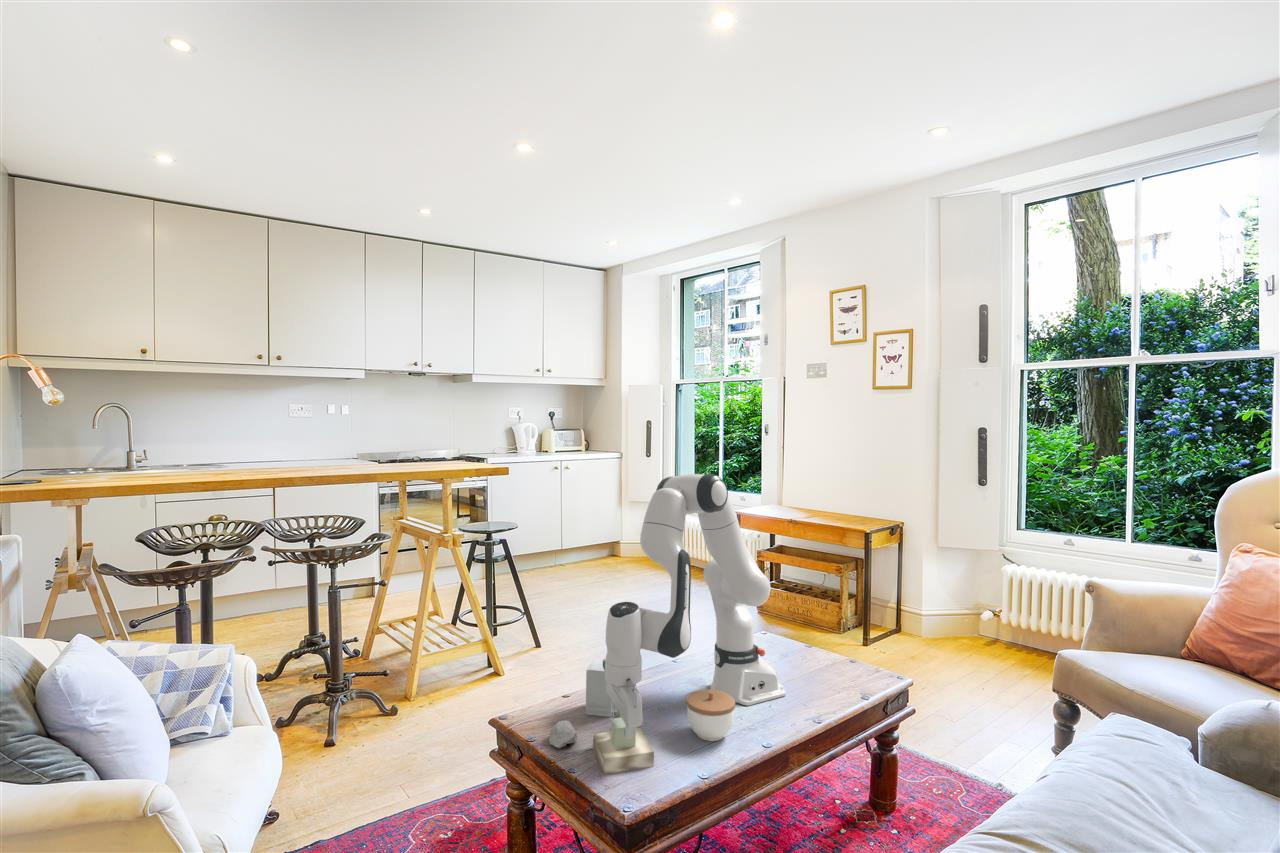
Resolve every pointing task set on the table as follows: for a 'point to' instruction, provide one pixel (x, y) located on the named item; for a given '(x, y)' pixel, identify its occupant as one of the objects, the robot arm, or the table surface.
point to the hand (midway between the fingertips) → (622, 727)
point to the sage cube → (621, 734)
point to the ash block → (622, 753)
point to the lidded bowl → (710, 713)
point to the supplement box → (597, 691)
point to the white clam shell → (562, 734)
